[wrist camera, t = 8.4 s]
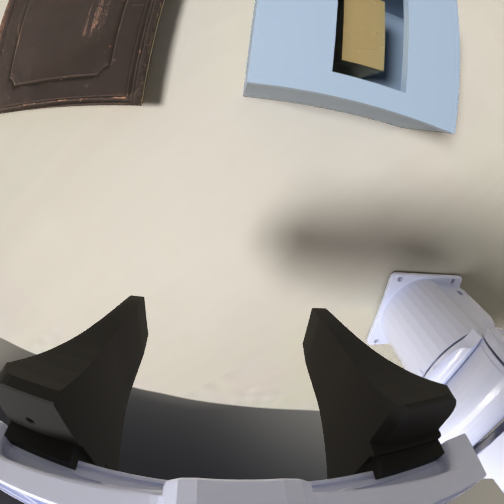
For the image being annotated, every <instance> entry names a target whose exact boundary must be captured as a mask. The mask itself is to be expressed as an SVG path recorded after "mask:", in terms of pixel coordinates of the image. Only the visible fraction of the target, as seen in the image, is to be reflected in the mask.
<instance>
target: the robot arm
mask: <svg viewBox="0 0 504 504" xmlns="http://www.w3.org/2000/svg"><path fill="white" fill-rule="evenodd" d="M399 277H401V278H400V279H399V280H398V278H399ZM451 280H452V281H451ZM461 282H462V278H461V277H460V276H458V275H438V274H419V273H401V272H394V273H392V274H391V275H390V277H389V280H388V283H387V286H386V289H385V292H384V295H383V298H382V301H381V304H380V306H379V309H378V312H377V314H376V317H375V320H374V322H373V325H372V328H371V330H370V333H369V335H368V338H367V343H368V344H369V345H375V344H390V345H391V346H392V348H393V350H394V351H395V353H396V355H397V356H398V358H399V360H400V361H401V363H402V365H403V366H404V368H405V369H403V368H401V367H399V366H398V365H396V364H394V363H392V362H391V361H389V360H387V359H386V358H384V357H383V356H381V355H380V354H378V353H377V352H375V351H374V350H373V349H371V348H370V347H369V346H367V345H366V344H365V343H364V342H362V341H361V340H360V339H359V338H358V337H356V336H355V335H354V334H353V333H352V332H351V331H350V330H348V329H347V328H346V327H345V326H344V325H343V324H342V323H341V322H340V321H339V320H338V319H337V318H336V317H334V316H333V315H332V314H331V313H330V312H329V311H328V310H327V309H325V308H312V311H311V315H310V319H309V323H308V326H307V330H306V334H305V337H304V341H303V348H304V355H305V361H306V365H307V369H308V372H309V375H310V379H311V382H312V385H313V388H314V392H315V395H316V398H317V401H318V405H319V409H320V415H321V421H322V427H323V434H324V442H325V451H326V462H327V479H326V480H319V481H311V482H307V481H304V480H301V479H265V480H225V479H205V478H177V479H172V480H169V481H168V480H161V479H154V478H149V477H143V476H138V475H133V474H128V473H123V472H119V471H118V468H119V454H120V445H121V436H122V429H123V424H124V417H125V412H126V407H127V402H128V398H129V395H130V391H131V389H132V386H133V383H134V380H135V377H136V374H137V372H138V369H139V366H140V363H141V360H142V358H143V355H144V351H145V347H146V342H147V337H148V329H147V320H146V311H145V301H144V297H140V296H130V297H128V298H127V299H126V300H125V301H123V302H122V303H121V304H120V305H118V306H117V307H116V308H115V309H114V310H112V311H111V312H110V313H109V314H107V315H106V316H105V317H104V318H102V319H101V320H100V321H98V322H97V323H95V324H94V325H93V326H91V327H90V328H89V329H87V330H86V331H84V332H83V333H81V334H79V335H78V336H76V337H74V338H73V339H71V340H69V341H67V342H65V343H63V344H61V345H59V346H57V347H55V348H53V349H51V350H48V351H46V352H43V353H41V354H38V355H35V356H32V357H28V358H25V359H21V360H17V361H13V362H8V363H6V364H5V366H4V367H3V369H2V371H1V372H0V406H1V408H2V409H3V410H4V412H5V413H6V415H7V416H8V417H9V419H10V420H11V422H10V424H9V426H7V425H6V424H4V423H3V422H2V421H0V490H2V491H4V492H5V493H7V494H9V495H11V496H12V497H14V498H16V499H18V500H19V501H21V502H23V503H25V504H447V503H449V502H451V501H453V500H454V499H456V498H457V497H458V496H460V495H461V494H463V493H464V492H466V491H467V490H468V489H470V488H471V487H473V486H474V485H475V484H477V483H478V482H479V481H480V480H482V479H486V478H492V479H494V481H495V482H496V483H497V485H498V486H499V487H500V489H501V490H502V491H503V493H504V421H503V422H502V423H501V424H500V425H499V426H498V427H497V428H496V429H495V430H494V431H493V432H492V433H491V434H490V435H488V437H486V438H485V439H483V440H482V441H480V440H481V439H482V438H484V437H485V436H486V435H487V434H488V433H489V432H490V431H491V430H492V429H493V428H494V427H495V426H496V425H497V424H498V423H499V422H501V421H502V420H503V419H504V330H503V329H501V328H500V327H495V324H494V322H493V320H492V318H491V316H490V315H489V314H488V313H487V312H486V311H485V310H484V309H483V308H482V307H481V306H480V305H479V304H478V303H477V302H476V301H475V300H473V299H472V298H471V297H470V296H469V295H468V294H467V293H466V292H465V291H464V290H463V289H462V288H461V287H460V284H461ZM376 339H377V340H376ZM479 441H480V442H479Z"/></svg>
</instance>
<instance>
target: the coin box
mask: <svg viewBox="0 0 504 504" xmlns="http://www.w3.org/2000/svg"><path fill="white" fill-rule="evenodd" d="M381 1H384V2H385V54H384V71H382V72H379V73H375V74H372V75H369V76H365V77H362V78H356V77H352V76H348V75H344V74H340V73H336V72H332V68H333V58H334V47H335V35H336V21H337V6H338V0H255V7H254V14H253V21H252V29H251V36H250V44H249V52H248V60H247V68H246V77H245V85H244V94H243V96H245V97H254V98H263V99H271V100H279V101H286V102H292V103H299V104H305V105H310V106H316V107H321V108H326V109H331V110H336V111H340V112H345V113H349V114H353V115H358V116H362V117H366V118H370V119H373V120H377V121H381V122H384V123H388V124H391V125H395V126H398V127H401V128H412V129H421V130H429V131H437V132H444V133H450V134H455V128H456V119H457V109H458V97H459V78H460V37H459V19H458V7H457V0H381Z"/></svg>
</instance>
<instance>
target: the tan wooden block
mask: <svg viewBox="0 0 504 504" xmlns="http://www.w3.org/2000/svg"><path fill="white" fill-rule="evenodd" d="M384 54H385V2H384V1H381V0H338V6H337V21H336V35H335V47H334V58H333V68H332V72H336V73H340V74H344V75H348V76H352V77H356V78H362V77H365V76H369V75H372V74H375V73H379V72H382V71H384Z"/></svg>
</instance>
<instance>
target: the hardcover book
mask: <svg viewBox="0 0 504 504" xmlns="http://www.w3.org/2000/svg"><path fill="white" fill-rule="evenodd" d="M164 1H165V0H9V2H8V5H7V7H6V10H5V13H4V16H3V19H2V22H1V26H0V114H1V113H7V112H14V111H22V110H30V109H39V108H50V107H64V106H84V105H141V103H142V102H143V95H144V89H145V84H146V78H147V73H148V67H149V62H150V57H151V53H152V48H153V44H154V39H155V35H156V31H157V27H158V23H159V19H160V15H161V12H162V8H163V5H164Z"/></svg>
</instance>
